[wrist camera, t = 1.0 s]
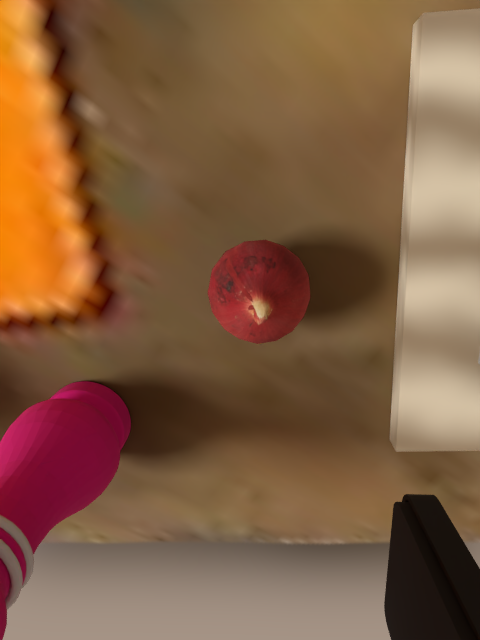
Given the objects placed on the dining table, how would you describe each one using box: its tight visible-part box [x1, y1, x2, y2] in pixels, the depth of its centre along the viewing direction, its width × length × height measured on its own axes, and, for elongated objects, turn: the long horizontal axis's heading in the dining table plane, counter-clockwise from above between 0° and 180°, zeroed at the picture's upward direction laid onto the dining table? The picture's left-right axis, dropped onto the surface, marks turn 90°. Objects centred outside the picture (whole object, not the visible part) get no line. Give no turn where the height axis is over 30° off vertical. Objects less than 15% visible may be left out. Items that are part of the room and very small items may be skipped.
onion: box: [208, 240, 310, 344], centre depth 23 cm, size 6×6×8 cm
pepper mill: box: [0, 381, 131, 640], centre depth 21 cm, size 7×7×20 cm
